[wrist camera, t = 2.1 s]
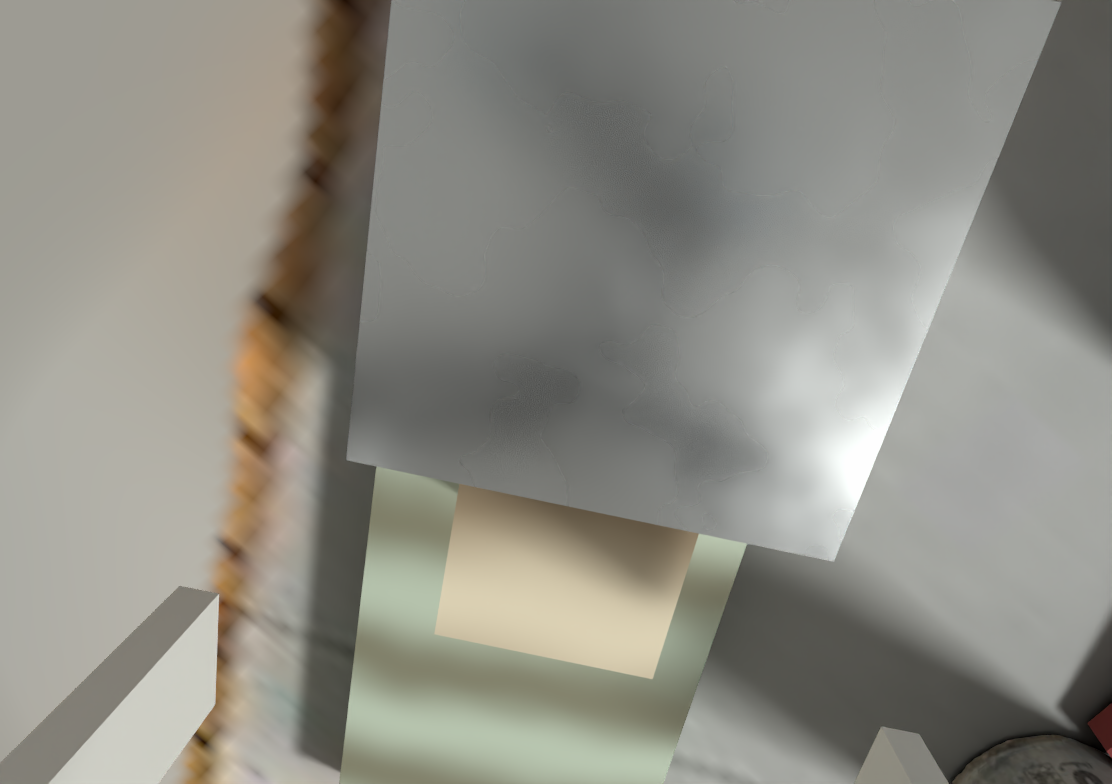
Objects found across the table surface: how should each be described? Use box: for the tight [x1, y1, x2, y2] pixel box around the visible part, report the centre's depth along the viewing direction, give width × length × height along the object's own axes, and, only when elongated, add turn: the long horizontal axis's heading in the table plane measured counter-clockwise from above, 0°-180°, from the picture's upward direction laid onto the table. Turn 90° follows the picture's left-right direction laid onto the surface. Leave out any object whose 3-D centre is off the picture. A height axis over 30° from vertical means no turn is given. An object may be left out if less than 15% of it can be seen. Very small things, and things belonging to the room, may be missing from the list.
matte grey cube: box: [346, 0, 1062, 562], centre depth 16 cm, size 10×10×10 cm
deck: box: [339, 467, 747, 784], centre depth 23 cm, size 51×14×3 cm, turn 169°
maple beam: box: [434, 484, 699, 679], centre depth 17 cm, size 22×6×7 cm, turn 169°
